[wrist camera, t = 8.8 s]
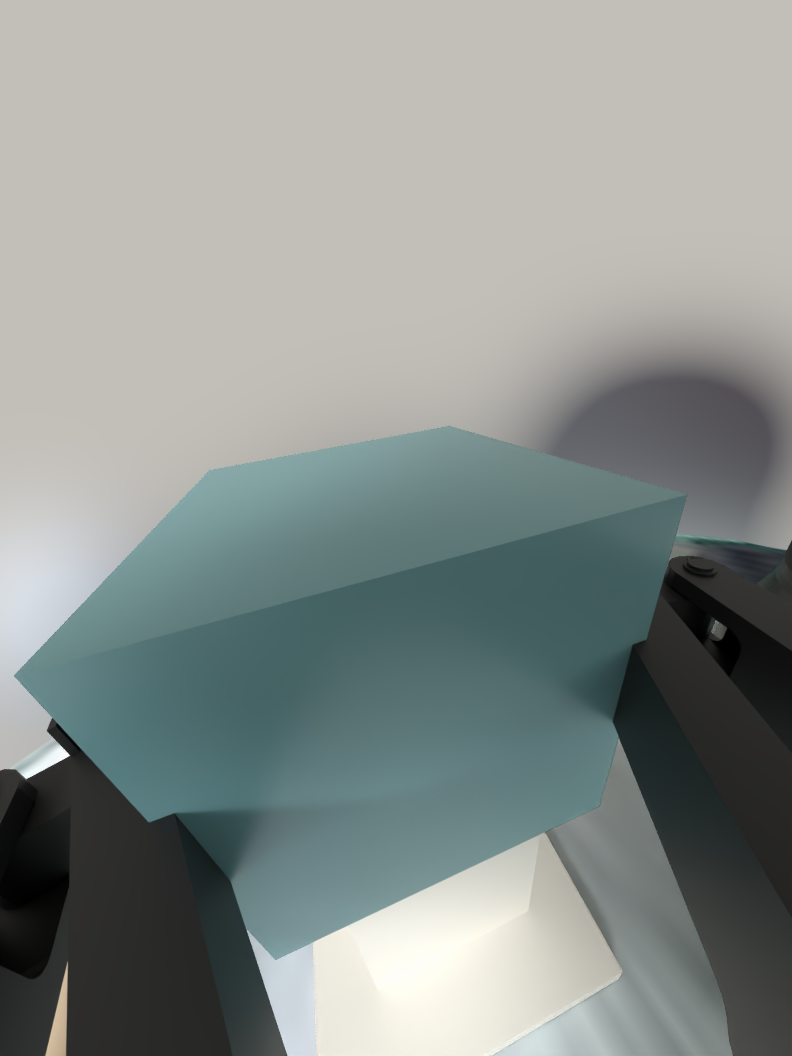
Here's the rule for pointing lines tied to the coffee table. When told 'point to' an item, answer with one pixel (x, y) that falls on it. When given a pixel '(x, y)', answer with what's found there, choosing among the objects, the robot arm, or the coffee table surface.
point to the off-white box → (462, 962)
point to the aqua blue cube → (366, 664)
